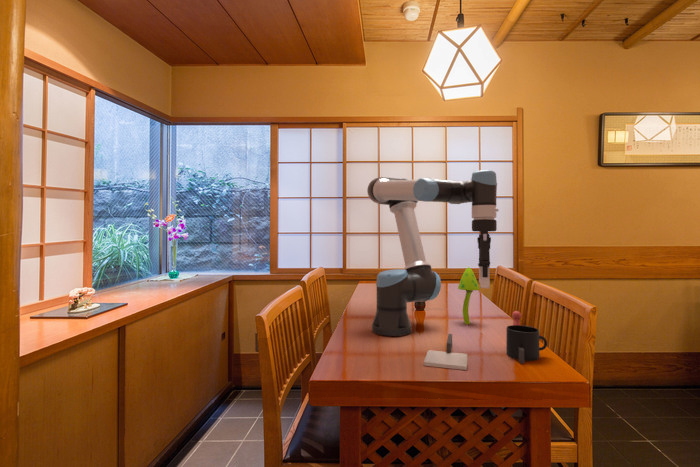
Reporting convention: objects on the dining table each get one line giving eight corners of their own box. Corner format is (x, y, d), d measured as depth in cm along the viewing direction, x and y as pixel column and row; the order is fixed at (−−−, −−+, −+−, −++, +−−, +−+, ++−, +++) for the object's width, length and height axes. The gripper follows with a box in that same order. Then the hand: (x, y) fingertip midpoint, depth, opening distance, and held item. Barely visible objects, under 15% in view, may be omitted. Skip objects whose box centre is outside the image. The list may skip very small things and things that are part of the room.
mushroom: (472, 331, 149) (472, 268, 149) (453, 327, 155) (454, 266, 155) (483, 327, 154) (483, 267, 154) (465, 323, 161) (465, 265, 161)
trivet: (423, 365, 109) (423, 362, 109) (428, 353, 120) (428, 350, 120) (466, 370, 105) (466, 366, 105) (467, 357, 117) (467, 353, 117)
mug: (553, 363, 112) (553, 333, 113) (511, 361, 114) (511, 331, 114) (541, 353, 122) (541, 325, 122) (503, 351, 124) (503, 324, 124)
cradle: (446, 356, 118) (446, 314, 118) (448, 343, 132) (449, 306, 132) (527, 364, 111) (527, 320, 111) (520, 349, 125) (520, 310, 125)
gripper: (499, 217, 107) (499, 291, 107) (494, 220, 131) (494, 281, 131) (472, 217, 109) (472, 289, 109) (471, 220, 133) (471, 280, 133)
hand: (484, 285), depth 120 cm, fingers open, 13 cm apart
